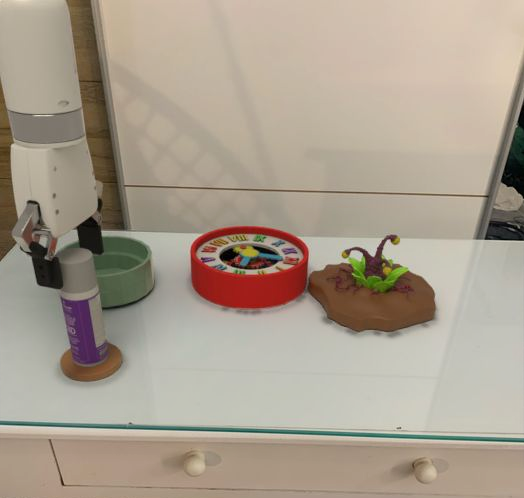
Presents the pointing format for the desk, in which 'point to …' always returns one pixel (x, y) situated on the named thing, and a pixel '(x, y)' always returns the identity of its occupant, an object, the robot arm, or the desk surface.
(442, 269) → the desk surface
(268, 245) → the toy clock
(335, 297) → the plant
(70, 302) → the container
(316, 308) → the desk surface
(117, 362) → the coaster
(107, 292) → the bowl
